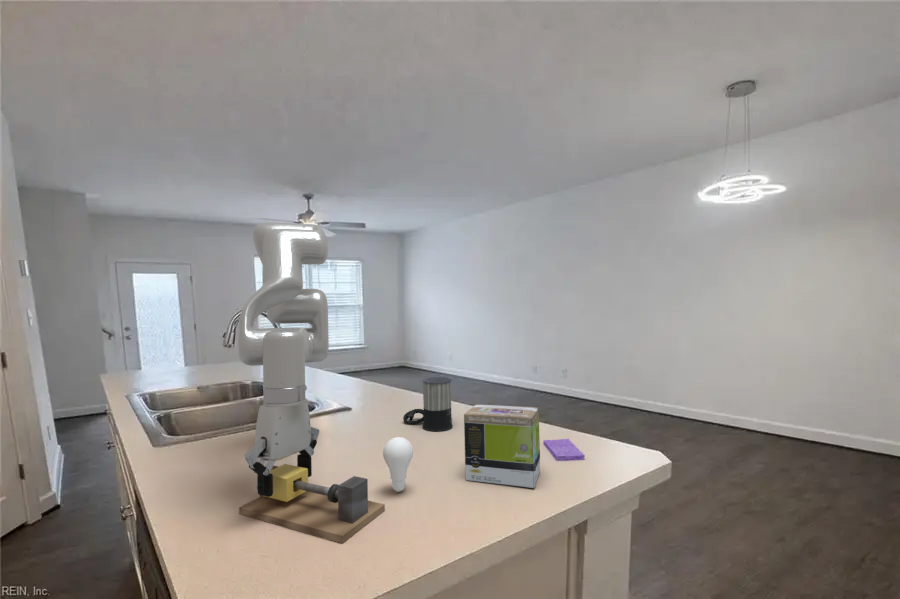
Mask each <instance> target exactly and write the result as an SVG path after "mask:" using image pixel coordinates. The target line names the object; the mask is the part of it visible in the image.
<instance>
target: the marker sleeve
mask: <svg viewBox="0 0 900 599" xmlns="http://www.w3.org/2000/svg"><path fill="white" fill-rule="evenodd" d="M270 473H271V474H272V475H273V495H272V496H270V497H269V498H273V499H277V500H281V501H285V502H288V501H289V500H291V499H293V498H295V497H297V496H299V495H300V494H302V493H304V492H306V491H304V490H300V489H295V488H293V481H295V480H297V481H302V482H306V483H309V477H308V469H307V468H302V467H298V466H297V465H292V464H287V463H284V464H281V465H279V466H278V467H277V468H275V469H273V470H271V471H270ZM265 497H267V496H265Z"/></svg>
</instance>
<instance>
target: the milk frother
mask: <svg viewBox="0 0 900 599" xmlns="http://www.w3.org/2000/svg"><path fill="white" fill-rule="evenodd" d="M421 381H422V384H423V385H422V387H423V388H422V389H423V390H422V392H423V393H422V394H423V402H422V403H423V408H414V409H412V410H408V411H407V412H406V413H405V414H404V415H403V417H402V420H403V422H405V423H406V424H409V425H417V424H421V423H423V424H422V429H423V430H425V431H428V432H429V431H430V432H443V431H444V432H445V431H448V430H451V429H452V428H453V418H452V387H451V386H452V383H451V382H452V378H451V377H448V376H431V377H430V376H429V377H424V378H422V379H421ZM416 414H421V415H422V417H420V418H418V419H416V420H413V419H414V417H415V415H416Z"/></svg>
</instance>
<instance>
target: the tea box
mask: <svg viewBox="0 0 900 599" xmlns="http://www.w3.org/2000/svg"><path fill="white" fill-rule="evenodd" d="M539 412H540V411H539V407H536V406H520V405H519V406H517V405H501V404H498V405H497V404H477V403H476V404H475V405H473V406H472V407H471V408H470V409H468V410H467V411H466V412H465V413H464V414H463V426H464V428H463V429H464V433H463V435H464V436H463V437H464V465H465V466H464V470H465V471H464V472H465V480H466V481H470V482H471V481H472V482H480V483H487V484H488V483H489V484H496V485H497V484H498V485H505V486H514V487H522V488H530V489H534V488H535V487H536V484H537V480H538V477H539V476H540V471H541V448H540V447H541V445H540V444H541V442H540V416H539V414H540V413H539Z"/></svg>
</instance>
